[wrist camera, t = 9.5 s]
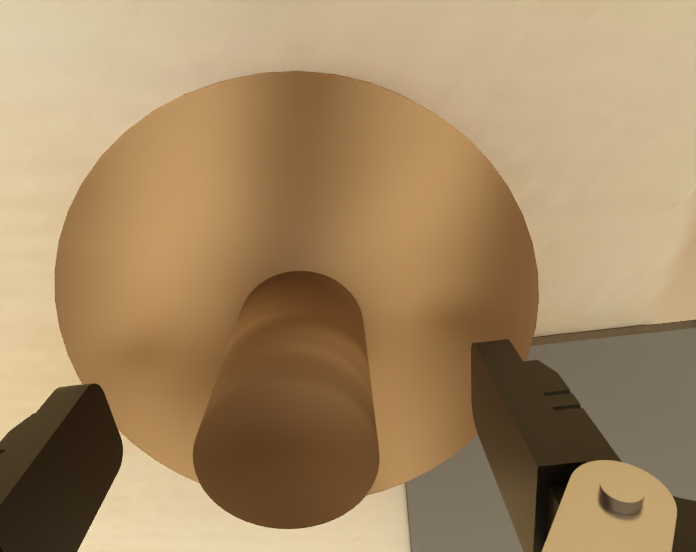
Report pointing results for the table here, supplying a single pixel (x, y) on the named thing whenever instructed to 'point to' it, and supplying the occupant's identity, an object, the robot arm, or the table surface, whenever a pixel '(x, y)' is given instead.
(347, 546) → the table surface
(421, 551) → the mat
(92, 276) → the lid
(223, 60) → the table surface
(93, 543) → the table surface
